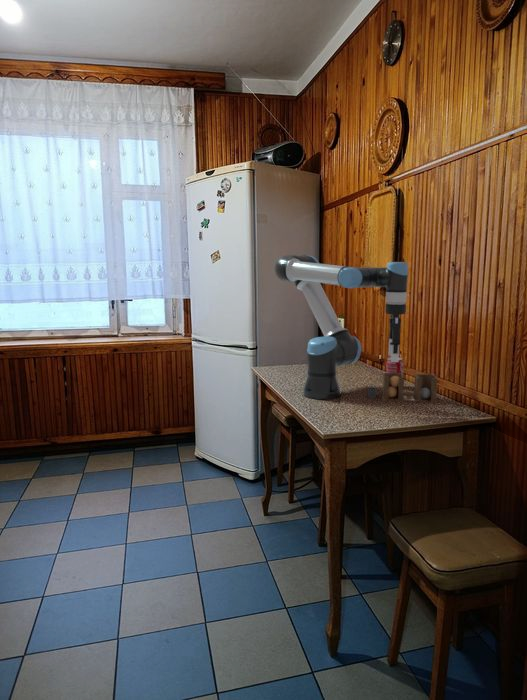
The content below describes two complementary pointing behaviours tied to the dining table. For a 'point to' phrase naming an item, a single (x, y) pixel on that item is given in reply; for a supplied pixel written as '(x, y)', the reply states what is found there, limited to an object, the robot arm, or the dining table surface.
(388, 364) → the soda can
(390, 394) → the brown ball in tube
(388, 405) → the dining table surface
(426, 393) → the grey ball
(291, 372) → the dining table surface
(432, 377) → the rack
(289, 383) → the dining table surface
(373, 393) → the rubber stand
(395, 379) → the brown ball
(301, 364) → the dining table surface
